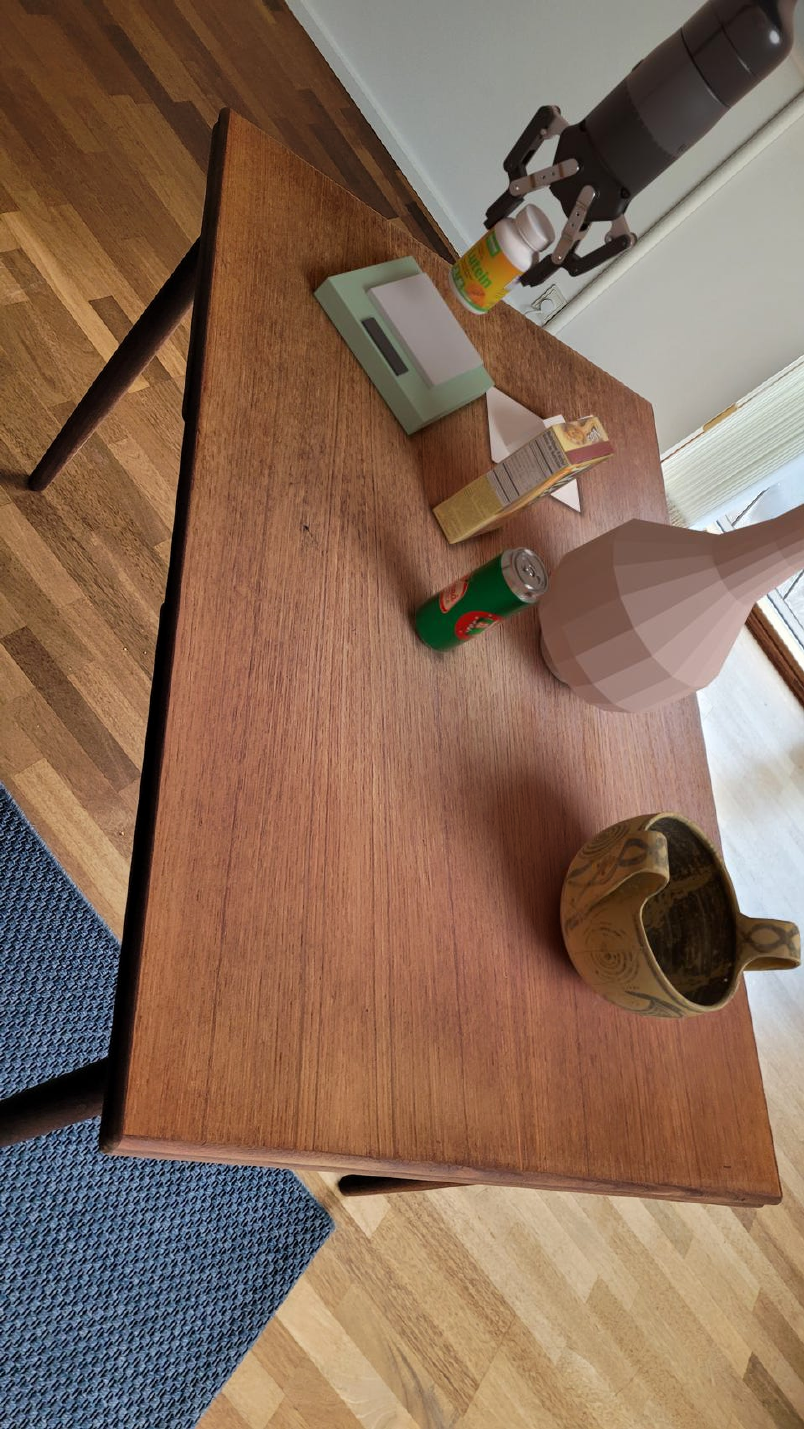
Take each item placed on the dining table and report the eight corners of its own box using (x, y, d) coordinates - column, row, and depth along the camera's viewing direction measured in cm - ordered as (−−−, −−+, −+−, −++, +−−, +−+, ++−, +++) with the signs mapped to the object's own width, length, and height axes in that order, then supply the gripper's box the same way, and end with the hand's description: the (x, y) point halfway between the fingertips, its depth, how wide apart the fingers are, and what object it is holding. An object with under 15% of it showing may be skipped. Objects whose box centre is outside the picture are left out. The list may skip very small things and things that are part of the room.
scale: (312, 293, 87) (332, 271, 85) (397, 269, 98) (416, 249, 96) (408, 435, 89) (429, 417, 87) (479, 396, 101) (500, 379, 98)
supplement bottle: (437, 269, 87) (512, 195, 80) (465, 265, 90) (539, 195, 84) (467, 319, 87) (543, 250, 80) (493, 313, 91) (568, 247, 84)
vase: (585, 582, 102) (847, 439, 81) (633, 731, 98) (921, 619, 78) (482, 571, 90) (760, 398, 69) (533, 739, 86) (843, 610, 65)
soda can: (424, 593, 83) (521, 531, 74) (459, 633, 84) (558, 577, 76) (402, 623, 79) (501, 562, 71) (439, 665, 81) (540, 610, 72)
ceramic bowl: (492, 981, 72) (650, 953, 62) (512, 795, 81) (652, 743, 71) (662, 1060, 83) (821, 1047, 72) (662, 887, 92) (803, 854, 82)
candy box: (478, 494, 94) (596, 412, 83) (497, 530, 94) (617, 453, 83) (429, 509, 87) (550, 422, 77) (450, 548, 88) (573, 466, 77)
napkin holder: (570, 436, 111) (607, 410, 107) (581, 512, 107) (620, 488, 103) (484, 380, 102) (521, 350, 98) (492, 461, 98) (531, 432, 94)
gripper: (715, 188, 77) (562, 314, 89) (626, 33, 75) (481, 183, 87) (691, 195, 72) (532, 328, 83) (594, 29, 70) (444, 189, 81)
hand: (507, 253), depth 85 cm, fingers closed on supplement bottle, 5 cm apart
